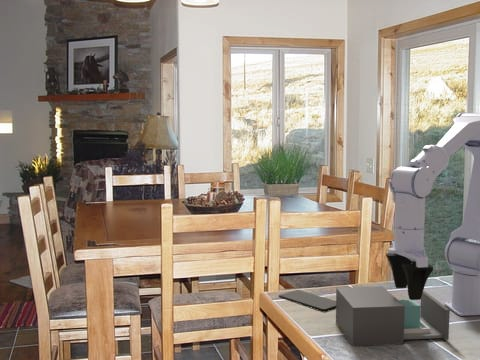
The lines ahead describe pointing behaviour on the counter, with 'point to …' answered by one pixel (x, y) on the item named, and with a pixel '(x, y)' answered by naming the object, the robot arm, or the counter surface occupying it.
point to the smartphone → (310, 300)
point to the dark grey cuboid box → (370, 316)
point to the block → (411, 314)
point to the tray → (430, 320)
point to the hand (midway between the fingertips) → (407, 293)
